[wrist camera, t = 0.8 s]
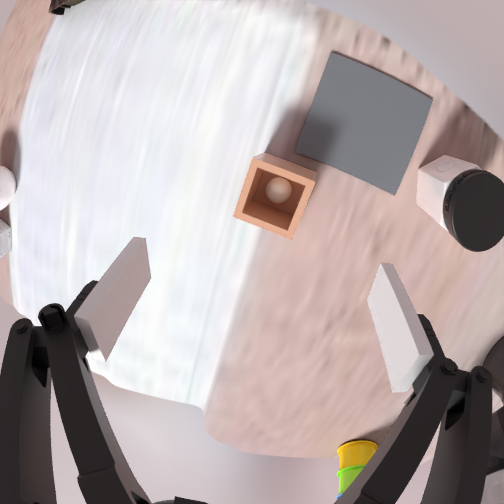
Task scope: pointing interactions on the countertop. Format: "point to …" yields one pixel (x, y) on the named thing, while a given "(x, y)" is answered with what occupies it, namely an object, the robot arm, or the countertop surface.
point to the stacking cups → (353, 461)
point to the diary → (62, 5)
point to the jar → (463, 201)
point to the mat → (363, 123)
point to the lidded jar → (6, 186)
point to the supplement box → (5, 239)
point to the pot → (261, 207)
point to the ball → (278, 190)
